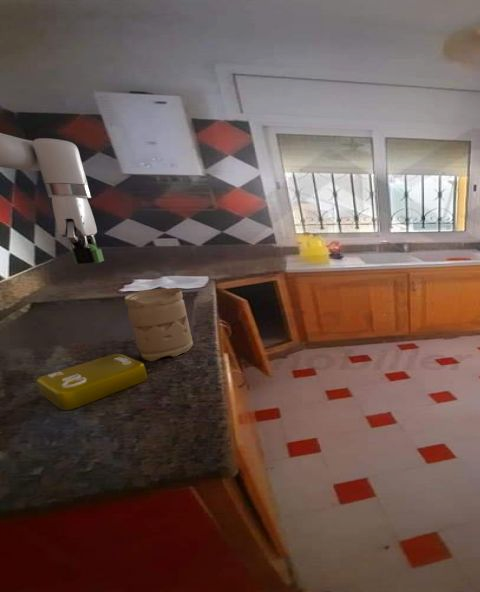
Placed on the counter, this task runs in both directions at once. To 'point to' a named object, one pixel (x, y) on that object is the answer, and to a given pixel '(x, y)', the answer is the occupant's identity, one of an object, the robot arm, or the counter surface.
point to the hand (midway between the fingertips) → (89, 261)
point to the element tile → (91, 381)
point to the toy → (96, 254)
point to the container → (159, 323)
